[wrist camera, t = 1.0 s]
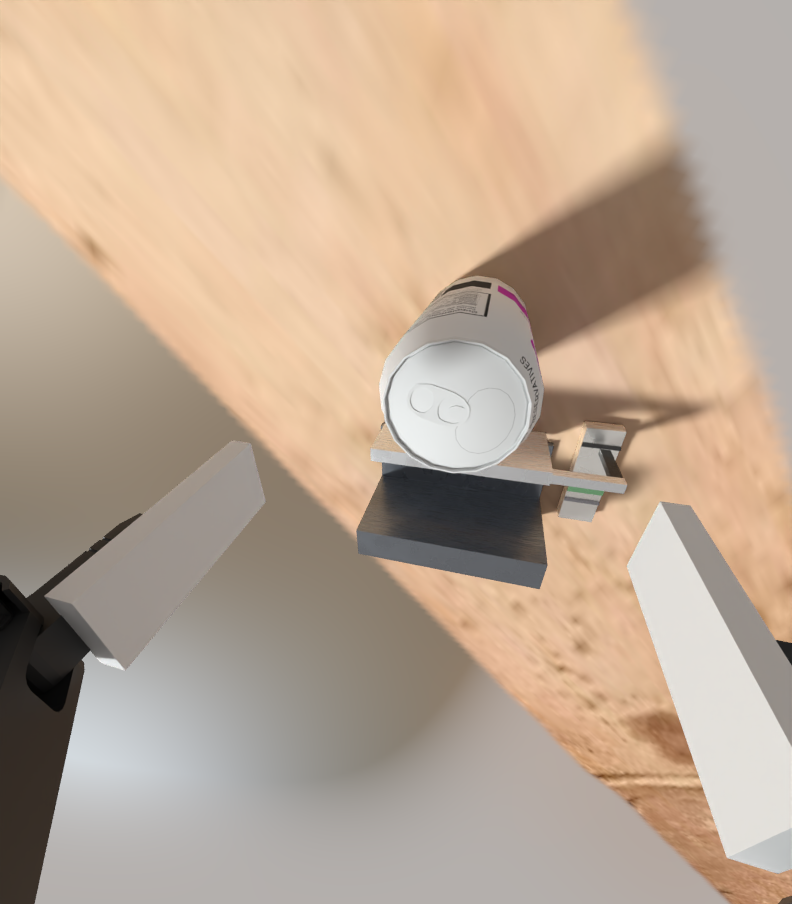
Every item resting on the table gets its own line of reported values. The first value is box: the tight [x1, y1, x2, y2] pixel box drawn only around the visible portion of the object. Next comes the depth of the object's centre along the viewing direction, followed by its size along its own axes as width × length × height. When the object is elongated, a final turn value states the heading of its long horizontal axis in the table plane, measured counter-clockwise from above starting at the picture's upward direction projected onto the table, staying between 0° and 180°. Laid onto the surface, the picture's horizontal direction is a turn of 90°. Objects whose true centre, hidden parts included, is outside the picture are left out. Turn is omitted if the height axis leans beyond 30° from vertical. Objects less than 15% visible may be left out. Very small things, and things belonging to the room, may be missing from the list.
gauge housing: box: [357, 421, 627, 589], centre depth 32 cm, size 12×21×9 cm, turn 90°
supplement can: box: [379, 276, 544, 473], centre depth 23 cm, size 8×8×15 cm
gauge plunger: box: [370, 423, 627, 494], centre depth 30 cm, size 1×19×6 cm, turn 90°
